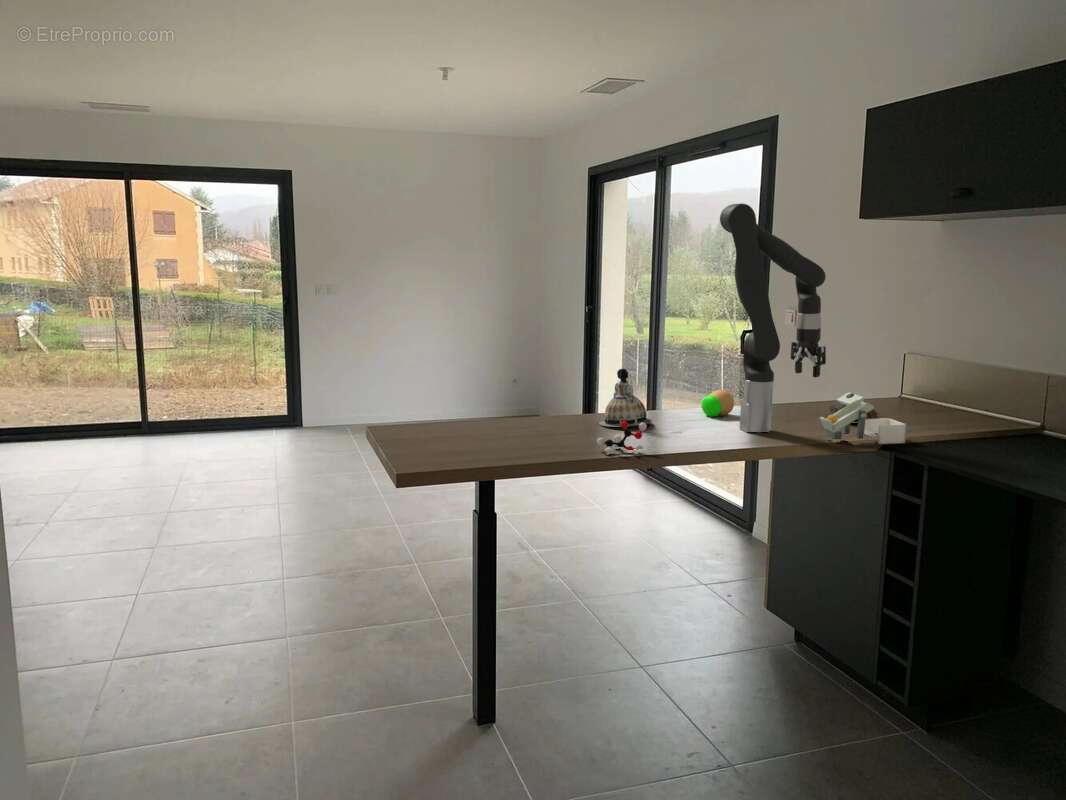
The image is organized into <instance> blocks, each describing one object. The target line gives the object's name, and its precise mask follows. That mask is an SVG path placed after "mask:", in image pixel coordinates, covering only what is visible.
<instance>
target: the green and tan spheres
mask: <svg viewBox="0 0 1066 800" xmlns="http://www.w3.org/2000/svg"><path fill="white" fill-rule="evenodd" d="M700 403H701V410H702V412H703V413H704V414H705V415H706V417H707V416H708V417H710V418H715V417H723V416H727V415H728V414H730V413H731V412H732V411H733V410H734V407H735V398H734V396H733V395H732V394H731V393H730V391H727V389H726V390H724V389H717V390H714V391H712V392H710V393H709V395H706V396H704V397H703V399H702V400H701V402H700Z"/></svg>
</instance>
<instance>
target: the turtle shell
mask: <svg viewBox="0 0 1066 800" xmlns="http://www.w3.org/2000/svg"><path fill="white" fill-rule="evenodd" d="M860 403H861V402H860ZM844 407H845V404H842V403H839V402H838V401H835V402H833V403H830V404H829V405H828V406H827V408H828V409H827V410H829V411H830V413H831V415H833V414H834V413H836V412H838V411H839V410H841V409H843V408H844ZM866 415H867V417H866V418H865V419H882V418H883V417H884V416H883V415H882V414H880V413H878V412H877V411H876V410H875V408H874V409H872V410H871V411H869V412H867V413H866ZM858 419H859V418H858ZM858 419H856V420H854V421H853V422H858Z"/></svg>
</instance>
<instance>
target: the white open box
mask: <svg viewBox="0 0 1066 800" xmlns="http://www.w3.org/2000/svg"><path fill="white" fill-rule="evenodd" d="M907 427H908V424H907V423H904V422H901V421H898V420H895V419H892V418H890V417H889V418H885V417H884V418H883V417H881V418H879V419H865V429H864V434H866V435H869V436H872V437H875V438H877V440H878V444H877V445H886V444H887V445H889V444H905V443H906V437H907ZM874 433H878V435H876V434H874Z"/></svg>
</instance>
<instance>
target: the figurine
mask: <svg viewBox="0 0 1066 800" xmlns="http://www.w3.org/2000/svg"><path fill="white" fill-rule="evenodd" d="M616 373H617V379H619V381H618V382H616V383H615V384H614V391H613V392H614V393H613V397H612V398H611V399H610V400H609V401H608V402H607V404H606V406H605V410H604V420H603V421H600V422H599V425H600V426H602V427H616V428H618V427H619V428H620V427H621V422H623V421H626V422H627V423H628V427H635V426H639V425H640V423H645V424H646V426H647V427H649V426H650V423H652V422H653V420H652V419H651V418H649V417H647V410H646V407H645V405H644V403H643V402H642V401H641V399H640V398H638V397H637V396H635V395H634V388H633V385H632V384H630V382H629V381H627V379H628V378H629V372H628V370H627V369H626V368H619V369H618V370H617V371H616ZM621 428H622V427H621Z"/></svg>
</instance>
